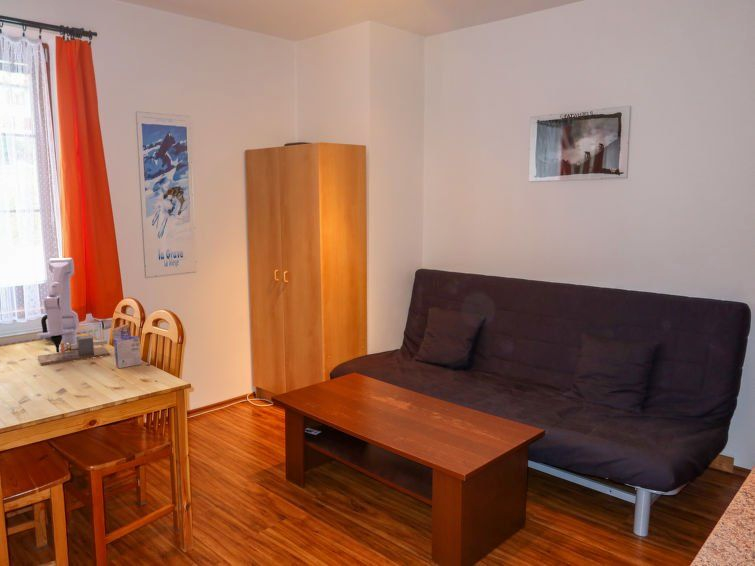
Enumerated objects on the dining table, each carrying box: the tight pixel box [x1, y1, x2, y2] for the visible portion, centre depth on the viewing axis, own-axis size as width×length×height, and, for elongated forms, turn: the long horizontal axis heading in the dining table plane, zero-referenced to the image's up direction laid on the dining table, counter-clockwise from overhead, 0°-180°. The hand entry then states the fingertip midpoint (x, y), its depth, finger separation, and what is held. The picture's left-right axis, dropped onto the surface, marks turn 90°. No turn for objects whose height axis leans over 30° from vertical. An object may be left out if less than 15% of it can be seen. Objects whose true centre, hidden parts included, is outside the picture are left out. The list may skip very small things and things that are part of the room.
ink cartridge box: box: [112, 332, 142, 369], centre depth 260 cm, size 10×6×14 cm, turn 129°
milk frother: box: [40, 313, 72, 343], centre depth 306 cm, size 14×16×15 cm
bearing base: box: [37, 334, 111, 366], centre depth 275 cm, size 28×14×9 cm, turn 123°
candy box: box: [111, 324, 131, 363], centre depth 268 cm, size 9×4×15 cm, turn 177°
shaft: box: [59, 339, 108, 355], centre depth 277 cm, size 19×5×5 cm, turn 123°
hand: (57, 351), depth 271 cm, fingers closed
